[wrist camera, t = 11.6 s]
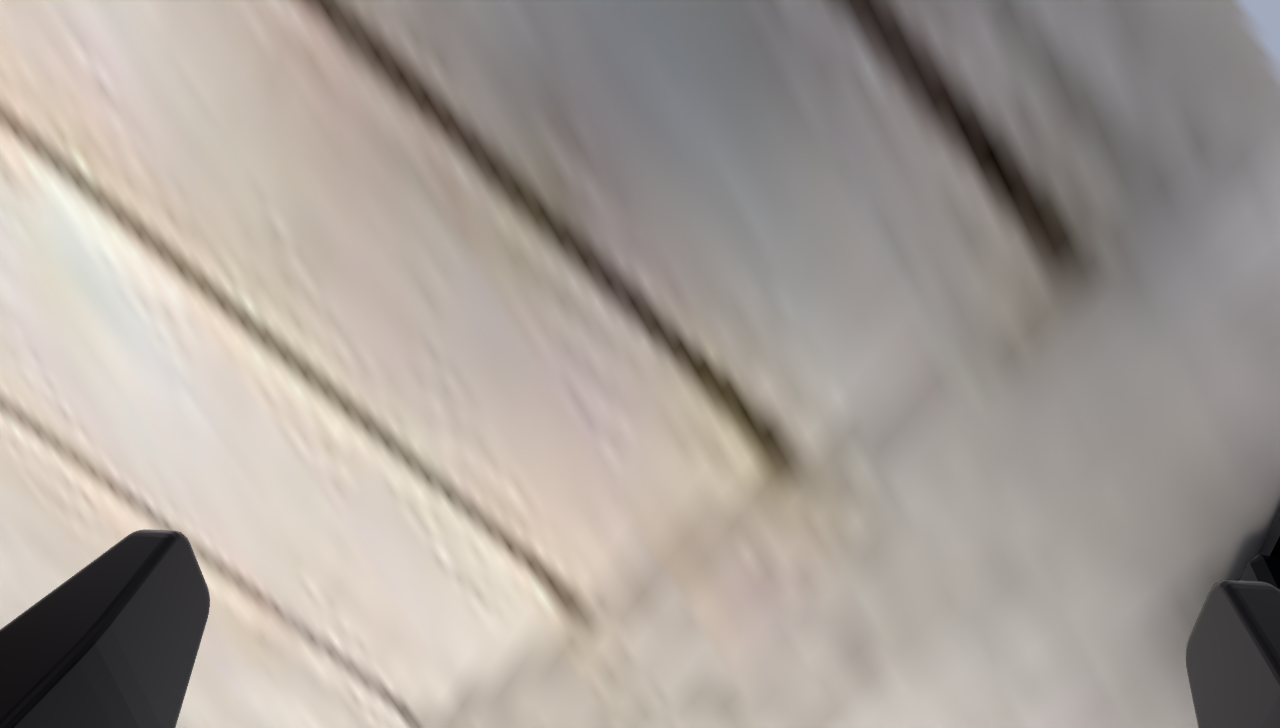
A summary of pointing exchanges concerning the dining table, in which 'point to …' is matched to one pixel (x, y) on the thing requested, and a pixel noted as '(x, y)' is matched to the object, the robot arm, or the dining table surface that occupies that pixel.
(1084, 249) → the dining table surface
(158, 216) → the dining table surface
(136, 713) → the robot arm
